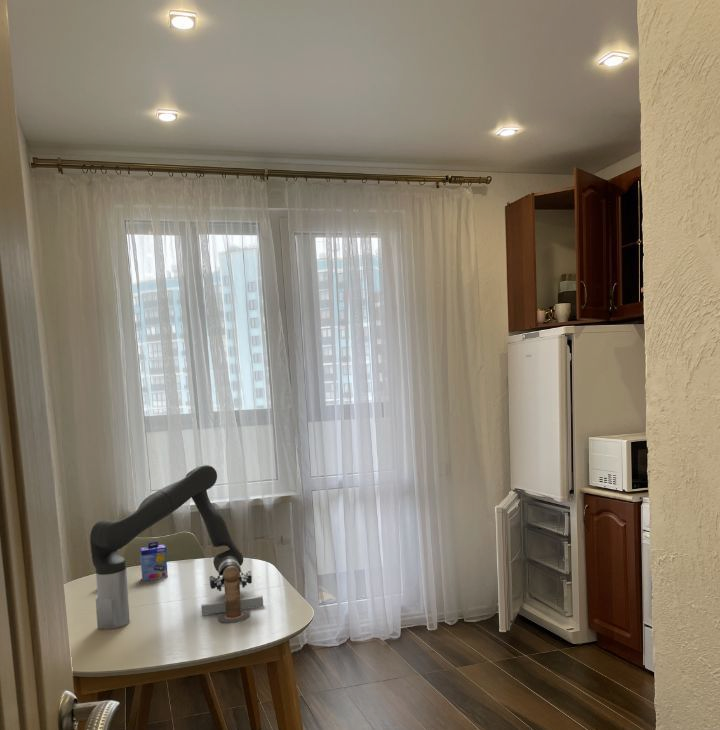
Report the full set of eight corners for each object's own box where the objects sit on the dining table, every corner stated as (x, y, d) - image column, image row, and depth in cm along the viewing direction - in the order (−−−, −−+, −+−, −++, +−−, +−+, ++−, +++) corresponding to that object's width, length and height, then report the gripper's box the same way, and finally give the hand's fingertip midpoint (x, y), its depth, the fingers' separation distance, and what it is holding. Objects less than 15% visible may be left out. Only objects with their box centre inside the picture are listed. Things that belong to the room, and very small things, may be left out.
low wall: (263, 604, 225) (262, 595, 225) (263, 606, 224) (262, 597, 224) (201, 613, 221) (201, 604, 221) (201, 615, 219) (201, 605, 219)
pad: (240, 623, 209) (240, 621, 209) (212, 622, 212) (212, 620, 212) (255, 612, 218) (254, 610, 218) (227, 611, 221) (227, 609, 221)
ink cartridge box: (142, 581, 264) (140, 544, 265) (141, 578, 269) (138, 542, 270) (168, 577, 269) (166, 540, 269) (166, 573, 274) (164, 538, 274)
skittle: (237, 618, 212) (234, 568, 212) (221, 617, 213) (219, 568, 214) (245, 612, 217) (242, 563, 217) (230, 611, 219) (227, 563, 219)
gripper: (207, 564, 228) (207, 577, 212) (250, 558, 231) (253, 571, 215) (209, 586, 228) (209, 601, 211) (252, 580, 231) (255, 594, 215)
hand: (231, 586), depth 213 cm, fingers open, 6 cm apart
